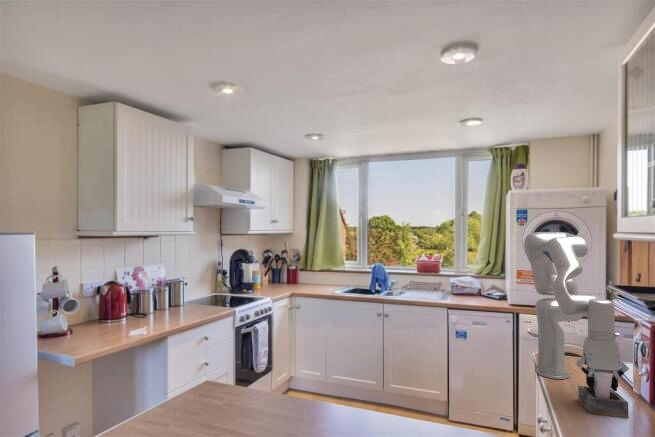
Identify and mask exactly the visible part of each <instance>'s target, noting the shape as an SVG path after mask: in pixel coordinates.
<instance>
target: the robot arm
mask: <svg viewBox="0 0 655 437" xmlns="http://www.w3.org/2000/svg"><path fill="white" fill-rule="evenodd" d="M523 241H524V242H523V247H524V253H525V254H526V258H527V259H528V261H529V264H530V268H531V272H532V273H531V274H532V278H533V284H534V287H535V288H534V289H535V290H536V293H537V294H539V295H543V296H554V297H549V298H548V297H547V298H546V297H545V298H541V299H538V300H537V301H536V303H535V306H534V308H535V310H534V311H535V315H536V320H537V337H538V338H537V340H538V341H537V346H538V348H537V349H538V350H537V351H538V356H537V357H538V359H537V360H538V365H537V366H535V367H534V372H535V373H536V374H537V375H538V376H539V375H540V376H542V377H545V378H547V379H553V380H565V379H568V378H570V373H569V371H567V370H566V369H565V359H566V358H565V331H564V330H563V327H561V325H560V324H559V322H578V321H580V320H581V319H582V318H583V317H584V316H585V317H587V336H585V338H584V340H583V347H582V357H581V358H580V359H578V360H577V361H576V362H575V365H576V366H577V368H579V369H580V370H581V371H582V373H584V374H585V376H586V377H585V382H586V385H587V387H590V388H591V389H594V378H593V377H592V374H593V372H594V370H595V369H596V370H608V371H612V372H613V377H612V383H611V389H613V390H614V391H615V392H617V391H618V388H619V380H620V378H621V377H622V376H623V375H625V373H627V371H629V370H630V368H629V367H628V366H627V365H626V364H625V363H624V362H623V361H622V359H621V352H620V348H619V345H618V341H617V339H616V338H619V337H620V333H619V332H616V331H615V330H616V329H615V328H616V325H615V324H616V322H615V315H616V314H615V304H614V302H613V301H612V300H610V299H605V298H602V297H600V296H599V295H596V294H580V292H579V287H578V284H577V281H576V279H575V278H576V277H578V276H579V275H580V274H582V272H583V270H584V268H583V266H582V263H581V262H580V260H579V258H583V257H586V256H587V255H588V253H589V244H588V243H587V241H586V240H585V239H584V238H582V237H581V236H578V235H575V234H572V233H569V232H564V231H563V232H562V231H560V232H559V231H539V232H531V233H529V234H526V236H525V239H524V240H523ZM544 252H548V254H549V256H550V257H549V256H548V255H547V254H545V253H544ZM550 258H551V259H550ZM554 267H555V269H554ZM555 270H556V272H555ZM583 365H585V366H586V367H585V366H583Z"/></svg>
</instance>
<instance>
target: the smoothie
mask: <svg viewBox="0 0 655 437" xmlns="http://www.w3.org/2000/svg"><path fill="white" fill-rule="evenodd" d="M592 377H593V378H594V390H595V397H596V398H603V399H609V398H610V390H611V389H612V388H611V383H612V377H613V372H612V371H608V370H596V369H595V370H594V372H593V374H592Z"/></svg>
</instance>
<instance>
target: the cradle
mask: <svg viewBox="0 0 655 437" xmlns="http://www.w3.org/2000/svg"><path fill="white" fill-rule="evenodd" d="M577 388H578V390H577V392H578V393H577V394H578V396H577V397H578V401H579V402H580V403H581V405H583V407H584V408H585V409H586V410H587V411H588V412H589V413H590V414H591V415H595V416H596V415H597V416H605V417H617V418H625V419H629V402H628V400H626V399H625V398H624V397H622V396H621V395H620V394H619V393H618V392H617V391H614V390H613V389H612V388H611V390H610V398H609V399H603V398H596V397H595V390H594V389H591V388H590V387H589V386H584V385H578V387H577Z"/></svg>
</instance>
